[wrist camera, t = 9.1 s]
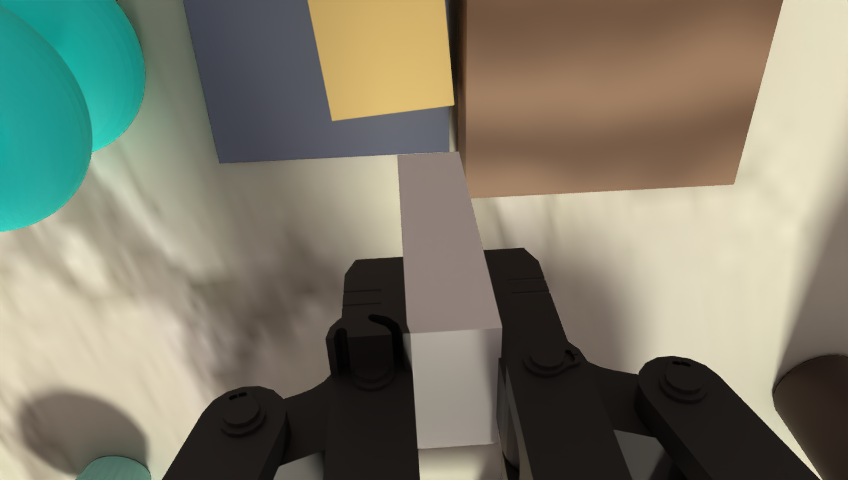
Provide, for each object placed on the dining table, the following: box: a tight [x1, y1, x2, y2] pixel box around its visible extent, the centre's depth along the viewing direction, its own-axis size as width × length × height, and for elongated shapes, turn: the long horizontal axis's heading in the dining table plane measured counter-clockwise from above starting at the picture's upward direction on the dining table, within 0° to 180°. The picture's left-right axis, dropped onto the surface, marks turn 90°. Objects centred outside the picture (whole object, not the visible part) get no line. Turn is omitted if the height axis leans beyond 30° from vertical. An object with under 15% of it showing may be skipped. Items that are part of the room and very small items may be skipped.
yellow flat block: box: [308, 0, 454, 121], centre depth 30 cm, size 9×6×2 cm, turn 6°
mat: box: [183, 0, 449, 163], centre depth 31 cm, size 16×12×1 cm
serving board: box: [457, 0, 783, 198], centre depth 30 cm, size 18×14×4 cm
